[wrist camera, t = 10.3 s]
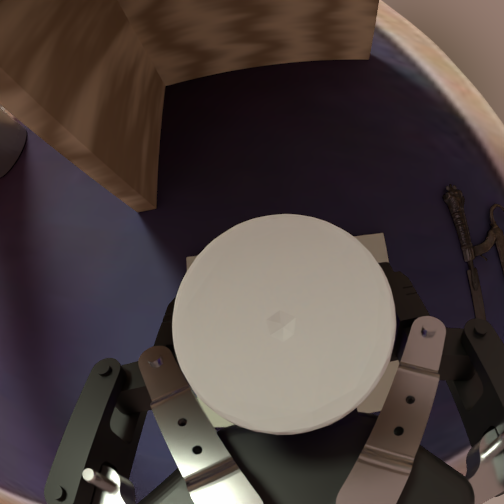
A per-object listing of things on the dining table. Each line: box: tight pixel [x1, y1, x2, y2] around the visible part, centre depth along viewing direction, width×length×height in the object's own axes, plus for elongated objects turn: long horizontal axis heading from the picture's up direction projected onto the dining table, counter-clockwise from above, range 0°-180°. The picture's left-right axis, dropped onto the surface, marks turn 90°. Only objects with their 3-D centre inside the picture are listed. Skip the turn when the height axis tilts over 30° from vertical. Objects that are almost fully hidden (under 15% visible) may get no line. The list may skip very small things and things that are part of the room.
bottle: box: [172, 214, 396, 435], centre depth 13 cm, size 7×6×17 cm
